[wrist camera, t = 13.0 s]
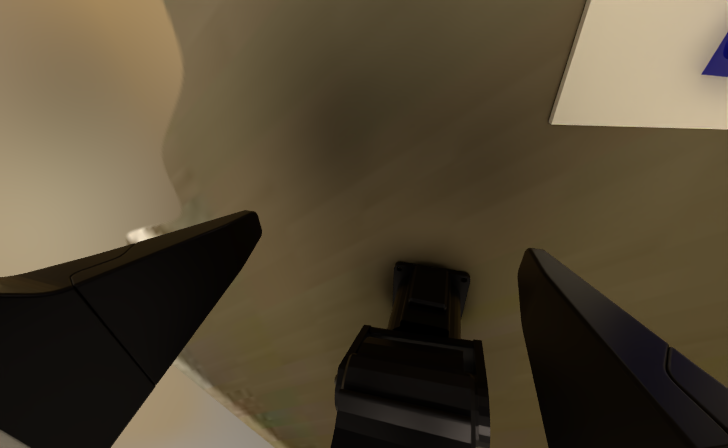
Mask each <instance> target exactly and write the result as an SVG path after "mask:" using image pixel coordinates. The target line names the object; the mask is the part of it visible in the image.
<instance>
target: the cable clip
mask: <svg viewBox="0 0 728 448" xmlns="http://www.w3.org/2000/svg"><path fill="white" fill-rule="evenodd" d="M701 75H711V76H721V77H728V32H727V34H726V36H725V37H724V39H723V40H722V42H721V44H720V45H719V47H718V48H717V50H716V52H715V53H714V55H713V56H712V58H711V60H710V61H709V63H708V64H707V66H706V68H705V69H704V71H703V72H702V74H701Z"/></svg>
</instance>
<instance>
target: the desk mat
mask: <svg viewBox="0 0 728 448" xmlns="http://www.w3.org/2000/svg"><path fill="white" fill-rule="evenodd" d="M727 32H728V0H587V1H586V5H585V8H584V11H583V14H582V17H581V20H580V24H579V27H578V30H577V33H576V36H575V39H574V43H573V46H572V49H571V52H570V55H569V58H568V62H567V65H566V68H565V71H564V74H563V78H562V81H561V84H560V87H559V90H558V93H557V97H556V100H555V103H554V106H553V109H552V112H551V116H550V119H549V123H550V124H554V125H590V126H625V127H661V128H697V129H728V77H721V76H711V75H701V74H702V72H703V71H704V69H705V68H706V66H707V64H708V63H709V61H710V60H711V58H712V56H713V55H714V53H715V52H716V50H717V48H718V47H719V45H720V44H721V42H722V40H723V39H724V37H725V36H726V34H727Z"/></svg>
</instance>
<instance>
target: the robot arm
mask: <svg viewBox="0 0 728 448" xmlns="http://www.w3.org/2000/svg"><path fill="white" fill-rule="evenodd" d="M261 235H262V229H261V225H260V222H259V218H258V215H257V213H256V212H254V211H247V210H244V211H241V212H237V213H234V214H231V215H227V216H224V217H221V218H217V219H214V220H211V221H207V222H204V223H201V224H197V225H194V226H191V227H187V228H184V229H181V230H177V231H174V232H171V233H167V234H164V235H161V236H157V237H154V238H151V239H147V240H144V241H140V242H137V243H136V244H135V243H134V244H130V245H127V246H124V247H120V248H117V249H113V250H110V251H106V252H103V253H100V254H96V255H92V256H89V257H85V258H81V259H77V260H74V261H70V262H66V263H62V264H58V265H54V266H51V267H47V268H44V269H40V270H36V271H32V272H28V273H24V274H19V275H14V276H8V277H0V448H111V446H112V445H113V444H114V442H115V441H116V440H117V438H118V437H119V436H120V434H121V432H122V431H123V430H124V429H125V427H126V426H127V425H128V423H129V422H130V421H131V419H132V417H134V415H135V414H136V412H137V411H138V410H139V408H140V407H141V406H142V404H143V403H144V401H145V400H146V399H147V397H148V396H149V395H150V393H151V392H152V391H153V389H154V388H155V385H156V384H157V383H158V382H159V381H160V379H161V378H162V377H163V375H164V374H165V373H166V371H167V369H168V368H169V367H170V366H171V364H172V363H173V362H174V360H175V359H176V358H177V356H178V355H179V354H180V352H181V351H182V350H183V348H184V347H185V345H186V344H187V343H188V341H189V340H190V339H191V337H192V336H193V335H194V333H195V332H196V330H197V329H198V328H199V326H200V325H201V324H202V322H203V321H204V320H205V318H206V317H207V316H208V314H209V313H210V311H211V310H212V309H213V307H214V306H215V305H216V303H217V302H218V301H219V299H220V298H221V297H222V295H223V294H224V292H225V291H226V290H227V288H228V287H229V286H230V284H231V283H232V282H233V280H234V279H235V278H236V276H237V275H238V273H239V272H240V271H241V269H242V268H243V266H244V264H245V263H246V261H247V259H248V258H249V256H250V254H251V253H252V251H253V249H254V248H255V246H256V244H257V243H258V241H259V239H260V237H261ZM398 267H401V268H402V269H400V268H398ZM462 278H466V279H462ZM469 284H470V276H469V274H467V273H464V272H458V271H452V270H446V269H440V268H434V267H427V266H421V265H415V264H409V263H403V262H397V263H396V264H395V267H394V284H393V309H392V313H391V316H390V320H389V324H388V328H387V329H383V328H375V327H371V326H370V325H364V326H363V327H362V329H361V331H360V332H359V334H358V335H357V337H356V339H355V340H354V342H353V344H352V345H351V347H350V349H349V350H348V352H347V353H346V355H345V357H344V358H343V360H342V362H341V363H340V365H339V367H338V374H337V375H336V377H335V385H336V388H335V407H336V410H337V417H336V424H335V430H334V435H333V439H332V444H331V448H490V410H489V394H488V384H487V377H486V369H485V362H484V355H483V347H482V341H481V340H474V339H473V341H471V340H464V339H461V317H462V313H463V309H464V305H465V301H466V297H467V292H468V288H469ZM518 288H519V300H520V312H521V322H522V328H523V333H524V338H525V342H526V347H527V352H528V356H529V361H530V365H531V370H532V374H533V379H534V383H535V388H536V393H537V397H538V402H539V406H540V411H541V415H542V420H543V424H544V429H545V434H546V438H547V443H548V447H549V448H728V388H727V387H725V386H724V385H723V384H721V383H720V382H718V381H717V380H716V379H714V378H713V377H712V376H710V375H709V374H708V373H706V372H705V371H704V370H702V369H701V368H699V367H698V366H697V365H695V364H694V363H693V362H691V361H690V360H689V359H687V358H686V357H685V356H684V355H682V354H681V353H680V352H678V351H677V350H676V349H674V348H673V347H669V345H668V343H666V342H665V341H664V340H662V339H661V338H660V337H658V336H657V335H656V334H654V333H653V332H652V331H650V330H649V329H648V328H646V327H645V326H644V325H642V324H641V323H640V322H639V321H637V320H636V319H635V318H633V317H632V316H631V315H629V314H628V313H627V312H625V311H624V310H623V309H621V308H620V307H619V306H617V305H616V304H615V303H613V302H612V301H611V300H609V299H608V298H607V297H606V296H604V295H603V294H602V293H600V292H599V291H598V290H596V289H595V288H594V287H592V286H591V285H590V284H588V283H587V282H586V281H584V280H583V279H582V278H580V277H579V276H578V275H576V274H575V273H574V272H573V271H571V270H570V269H569V268H567V267H566V266H565V265H563V264H562V263H561V262H559V261H558V260H557V259H555V258H554V257H553V256H551V255H550V254H549V253H547V252H546V251H545V250H542V249H534V248H528V249H527V250H526V251H525V253H524V256H523V259H522V261H521V264H520V267H519V270H518Z"/></svg>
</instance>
